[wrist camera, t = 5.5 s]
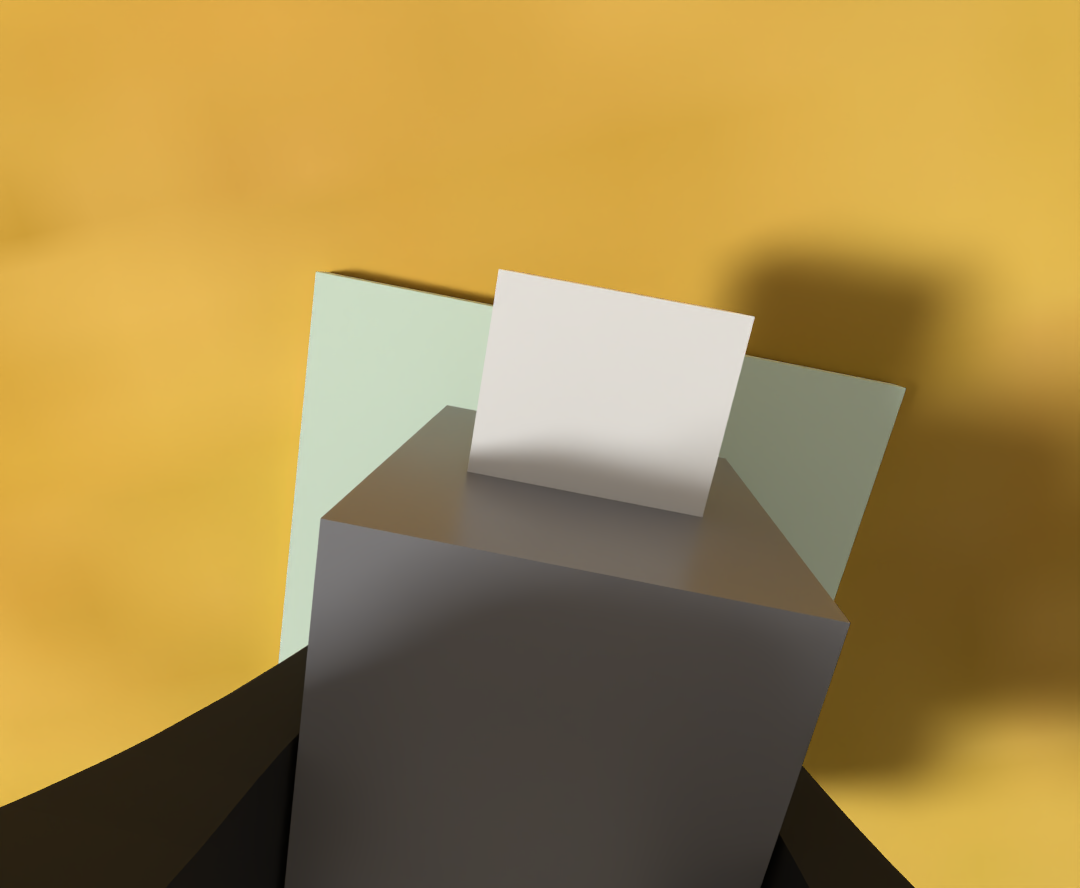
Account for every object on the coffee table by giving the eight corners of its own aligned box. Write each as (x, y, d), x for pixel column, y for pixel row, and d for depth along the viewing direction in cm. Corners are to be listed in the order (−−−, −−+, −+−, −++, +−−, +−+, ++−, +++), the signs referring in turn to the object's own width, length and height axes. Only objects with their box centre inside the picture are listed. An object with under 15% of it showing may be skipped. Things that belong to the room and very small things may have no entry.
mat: (725, 884, 13) (729, 904, 12) (274, 788, 13) (265, 804, 12) (894, 383, 10) (906, 388, 10) (326, 272, 10) (316, 271, 10)
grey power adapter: (586, 983, 12) (585, 1400, 7) (369, 936, 12) (241, 1323, 7) (763, 316, 9) (941, 355, 4) (467, 260, 9) (347, 244, 4)
